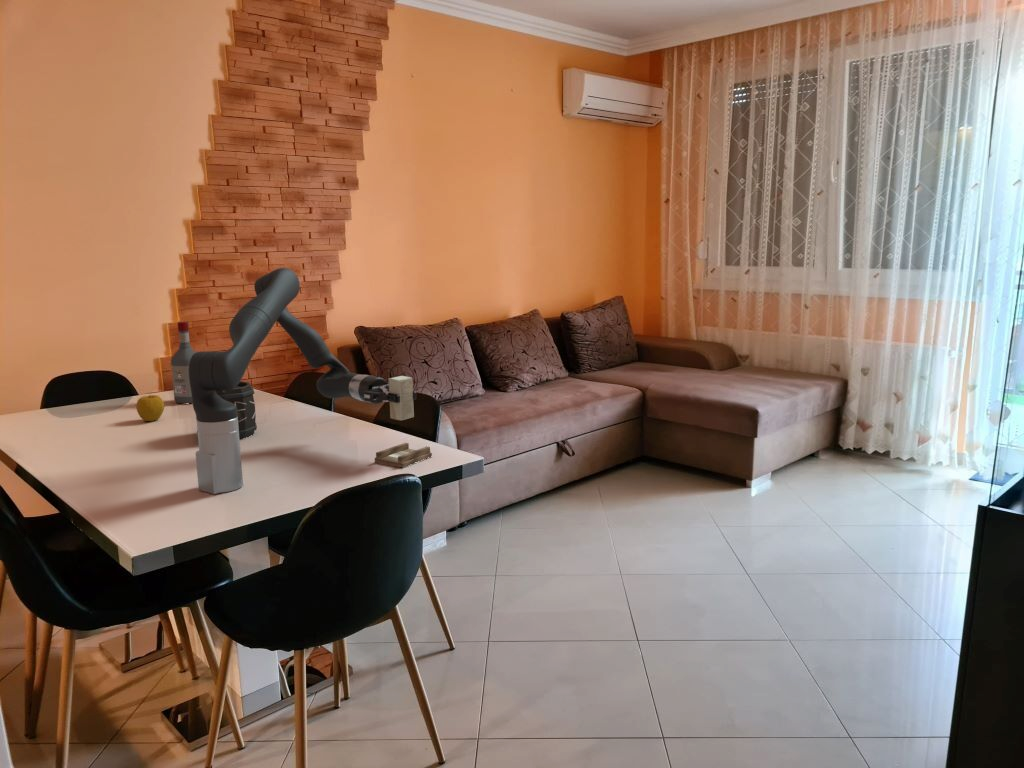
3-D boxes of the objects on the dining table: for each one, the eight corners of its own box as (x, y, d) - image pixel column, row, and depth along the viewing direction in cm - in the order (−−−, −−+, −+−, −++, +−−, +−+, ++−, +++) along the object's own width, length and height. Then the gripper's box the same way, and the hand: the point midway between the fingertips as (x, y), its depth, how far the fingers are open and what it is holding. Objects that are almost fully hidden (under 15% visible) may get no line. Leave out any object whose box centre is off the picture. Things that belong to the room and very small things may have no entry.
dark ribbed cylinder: (207, 446, 218) (203, 393, 215) (189, 434, 232) (184, 385, 229) (267, 436, 229) (264, 386, 226) (246, 425, 243) (243, 378, 240)
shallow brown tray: (403, 468, 195) (402, 457, 195) (374, 462, 201) (374, 452, 200) (431, 457, 205) (431, 447, 205) (404, 451, 211) (403, 442, 210)
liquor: (192, 404, 275) (185, 323, 270) (171, 403, 277) (163, 323, 272) (208, 399, 284) (201, 321, 279) (187, 398, 286) (180, 320, 281)
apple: (155, 424, 245) (152, 398, 244) (131, 423, 247) (129, 397, 245) (170, 418, 254) (168, 393, 252) (148, 417, 255) (145, 392, 253)
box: (403, 414, 204) (402, 375, 202) (414, 417, 202) (413, 377, 200) (389, 418, 200) (387, 378, 198) (399, 421, 198) (398, 380, 196)
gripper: (346, 379, 203) (385, 387, 192) (388, 372, 214) (427, 379, 203) (347, 406, 205) (386, 415, 194) (389, 397, 215) (428, 406, 204)
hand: (407, 397), depth 198 cm, fingers closed on box, 5 cm apart
